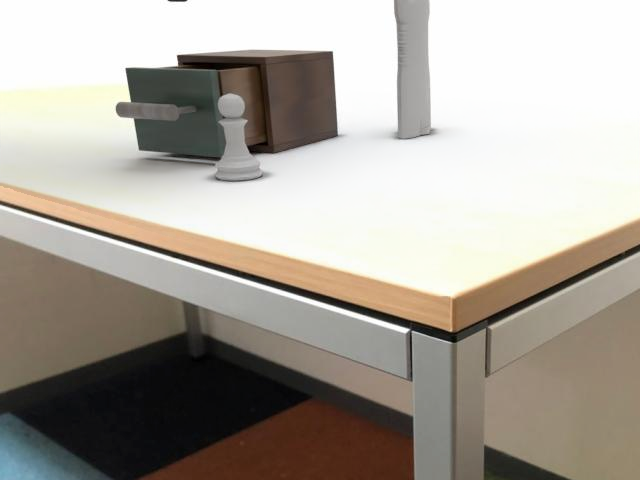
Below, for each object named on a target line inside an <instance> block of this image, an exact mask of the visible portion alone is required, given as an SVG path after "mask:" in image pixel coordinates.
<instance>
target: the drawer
mask: <svg viewBox="0 0 640 480" xmlns="http://www.w3.org/2000/svg"><path fill="white" fill-rule="evenodd" d="M260 65H261V64H230V63H204V64H193V65H182V66H178V65H173V66H160V67H159V66H158V67H142V66H141V67H138V66H137V67H136V66H133V67H132V66H131V67H125V68H124V69H125V75H126V82H127V88H128V94H129V99H130V101H119V102H117V103H116V105H115V113H116V115H117V116H118V117H120V118H123V119H133V123H134V130H135V136H136V142H137V147H138V151H139V152H140V151H141V152H154V153H165V154H177V155H189V156H201V157H211V158H212V157H213V158H214V157H215V158H221V157H222V156H223V155H224V151H225V147H226V138H225V133H224V127H223V126H222V125H221V124H220V123H219V122H218V121H220V120H223V119H224V118H225V117H224V116H223V115H222V114H221V113H220V111H219V109H218V101H219V99H220V97H222V96H224V95H227V94H229V93H231V94H234V95H238V96H240V97H241V98H242V99H243V101H244V104H245V109H244V112H243V114H242V115H241V116H240V118H242V119H245V120H248V121H247V123H246V124H245V125H244V138H245V144H246V146H249V145H253V144H258V143H262V142H266V141H268V138H267V128H266V118H265V108H264V97H263V87H262V77H261V67H260Z"/></svg>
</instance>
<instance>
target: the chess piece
mask: <svg viewBox="0 0 640 480" xmlns="http://www.w3.org/2000/svg"><path fill="white" fill-rule="evenodd" d="M218 109H219V111H220V113H221V114H222V115H223V116H224V117H225V118H224V119H223V120H220V121H218V122H219V123H220V124H221V125H222V126H223V127H224V133H225V138H226V147H225V151H224V155H223V156H222V157H220V159H219V160H218V161H217V162H216V163H215V164H214V165H215V167H216V171H215V173H214V176H215V177H216V178H217V179H218V180H222V181H232V182H233V181H235V182H236V181H237V182H238V181H248V180H254V179H258V178H260V177H262V175H263V173H264V171H263V170H262V169H261V168H260V164H261V161H259V160H258V159H256V158H255V157H254V155H253V154H252V153H250V151H248V148H247V146H246V144H245V138H244V125H245V124H246V123H247V121H248V120H245V119H242V118H240V116H241V115H242V114H243V112H244V109H245V104H244V101H243V99H242V98H241V97H240V96H238V95H234V94H231V93H229V94H227V95H224V96H222V97H220V99H219V101H218Z"/></svg>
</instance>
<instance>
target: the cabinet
mask: <svg viewBox="0 0 640 480" xmlns="http://www.w3.org/2000/svg"><path fill="white" fill-rule="evenodd" d="M176 60H177V61H176V62H177V66H182V65H193V64H204V63H230V64H261V65H260V67H261V77H262V87H263V97H264V108H265V118H266V128H267V138H268V141H266V142H262V143H258V144H253V145H249V146H247V148H248V151H249V152H255V153H256V152H258V153H269V154H276V153H279V152H283V151H287V150H290V149H294V148H297V147H302V146H304V145H309V144H312V143H315V142H321V141H324V140H327V139H331V138H335V137H337V136H339V125H338V111H337V95H336V93H337V91H336V76H335V61H334V51H333V50H301V49H300V50H296V49H295V50H293V49H292V50H291V49H241V50H227V51H214V52H199V53H185V54H176Z"/></svg>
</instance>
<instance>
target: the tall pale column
mask: <svg viewBox="0 0 640 480" xmlns="http://www.w3.org/2000/svg"><path fill="white" fill-rule="evenodd" d="M430 7H431V6H430V0H393V10H394V11H393V14H394V19H395V23H396V44H397V48H396V49H397V71H396V73H397V74H396V103H397V105H396V106H397V107H396V108H397V137H398V139H402V140H403V139H404V140H405V139H407V140H408V139H413V138H415V137H419V136H424V135H429V134H430V133H431V130H432V115H431V114H432V113H431V111H432V110H431V107H432V106H431V73H430V61H429V60H430V59H429V57H430V56H429V21H430V14H431V11H430V10H431V9H430Z"/></svg>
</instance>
